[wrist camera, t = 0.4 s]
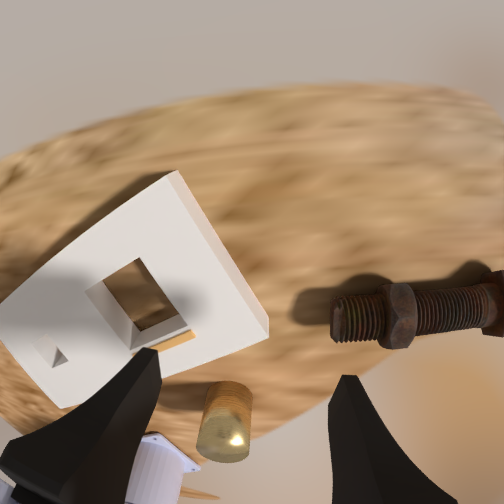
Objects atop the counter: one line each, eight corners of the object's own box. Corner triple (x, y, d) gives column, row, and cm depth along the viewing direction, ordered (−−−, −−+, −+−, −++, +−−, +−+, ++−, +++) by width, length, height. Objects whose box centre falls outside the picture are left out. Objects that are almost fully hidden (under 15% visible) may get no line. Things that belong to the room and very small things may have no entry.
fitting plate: (69, 393, 28) (59, 410, 26) (-1, 306, 24) (-16, 319, 22) (268, 317, 23) (268, 339, 20) (177, 169, 19) (164, 175, 17)
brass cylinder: (222, 414, 27) (215, 466, 22) (198, 388, 26) (185, 441, 21) (260, 403, 26) (258, 457, 21) (237, 375, 25) (230, 431, 20)
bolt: (324, 284, 24) (485, 274, 23) (326, 350, 23) (486, 331, 22) (337, 279, 18) (524, 267, 17) (338, 365, 17) (526, 335, 16)
